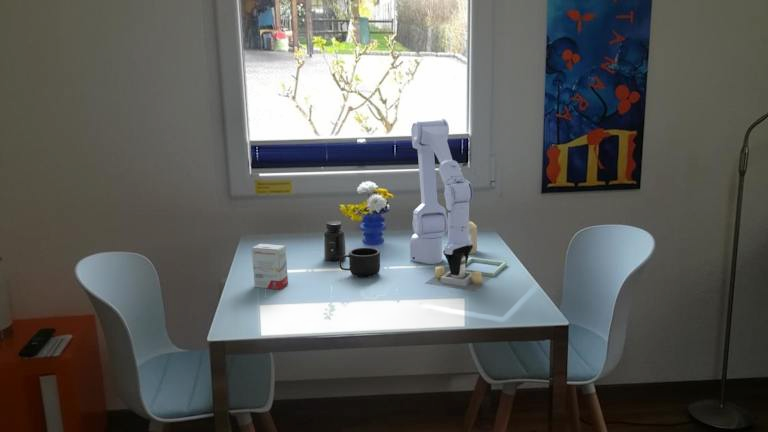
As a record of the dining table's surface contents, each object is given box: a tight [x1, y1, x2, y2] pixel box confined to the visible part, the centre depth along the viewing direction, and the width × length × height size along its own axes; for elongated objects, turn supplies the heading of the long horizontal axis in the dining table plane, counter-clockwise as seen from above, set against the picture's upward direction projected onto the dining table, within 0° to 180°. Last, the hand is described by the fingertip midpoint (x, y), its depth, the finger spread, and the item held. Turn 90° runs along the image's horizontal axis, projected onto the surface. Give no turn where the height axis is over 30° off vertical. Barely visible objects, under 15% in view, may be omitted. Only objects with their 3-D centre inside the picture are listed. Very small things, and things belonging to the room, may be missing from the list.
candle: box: [469, 220, 478, 255], centre depth 228 cm, size 6×6×10 cm
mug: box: [338, 247, 381, 279], centre depth 208 cm, size 12×9×7 cm
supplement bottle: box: [322, 220, 347, 263], centre depth 223 cm, size 7×7×12 cm
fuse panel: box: [425, 265, 491, 292], centre depth 199 cm, size 15×12×4 cm
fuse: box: [451, 255, 466, 280], centre depth 199 cm, size 4×4×7 cm
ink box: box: [251, 243, 289, 290], centre depth 200 cm, size 9×5×12 cm, turn 71°
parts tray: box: [465, 257, 508, 278], centre depth 210 cm, size 12×12×2 cm
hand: (458, 272), depth 199 cm, fingers closed on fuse, 4 cm apart
